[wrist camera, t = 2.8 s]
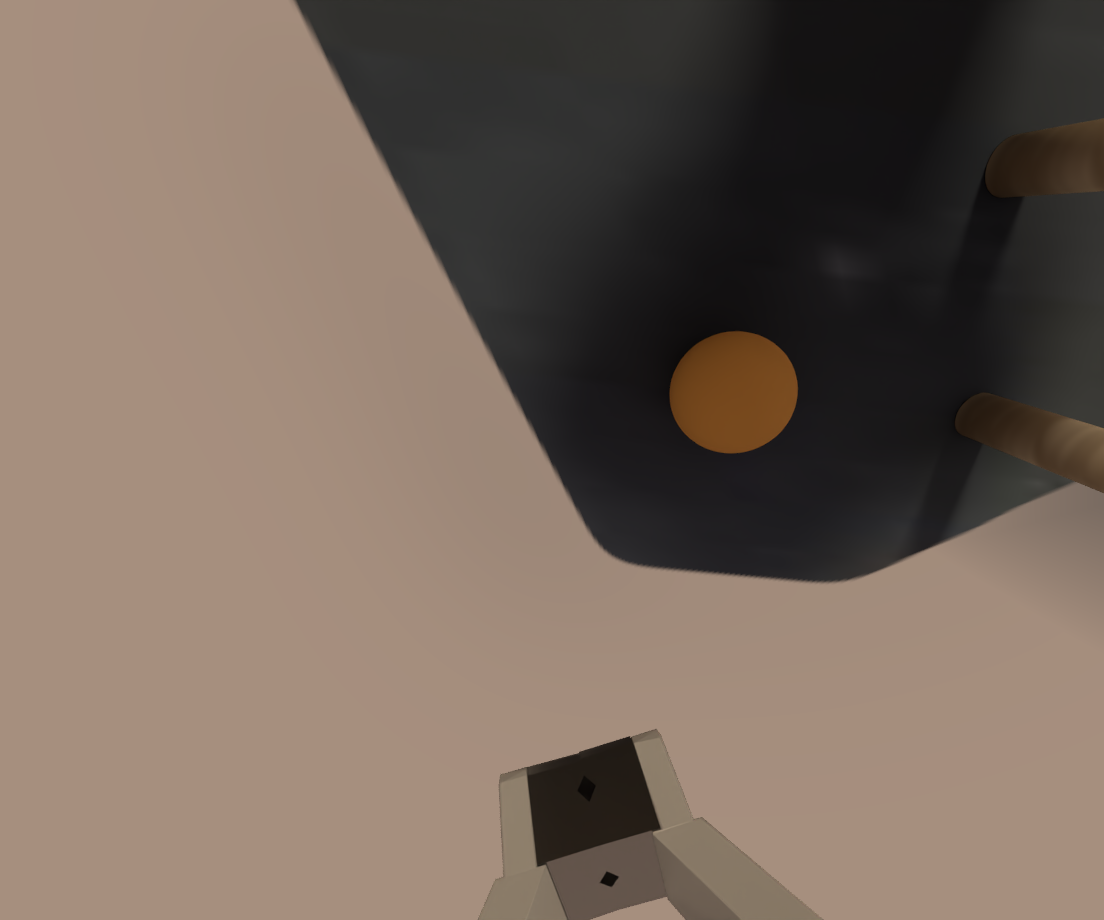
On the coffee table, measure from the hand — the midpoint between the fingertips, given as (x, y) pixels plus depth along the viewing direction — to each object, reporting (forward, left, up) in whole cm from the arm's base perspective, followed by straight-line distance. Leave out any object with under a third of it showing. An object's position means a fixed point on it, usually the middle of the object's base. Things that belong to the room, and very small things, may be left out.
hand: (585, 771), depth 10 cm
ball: (0, +10, -15) cm, 18 cm away
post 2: (+6, +26, -18) cm, 32 cm away
